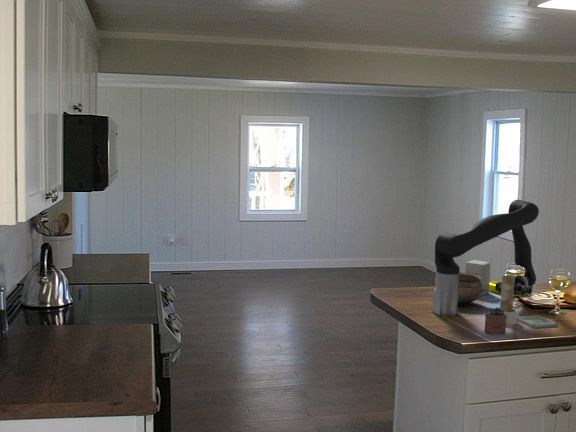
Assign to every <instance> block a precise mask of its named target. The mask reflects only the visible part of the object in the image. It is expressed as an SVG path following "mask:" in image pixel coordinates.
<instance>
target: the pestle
mask: <svg viewBox="0 0 576 432" xmlns="http://www.w3.org/2000/svg"><path fill="white" fill-rule="evenodd" d="M501 281H502V288H501V295H500V305H499V307H500V309H504V312H512V309H514V307H513V306H514V296H513V295H514V281H515V277H512V276H511V275H503V276H501Z"/></svg>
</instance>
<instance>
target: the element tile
mask: <svg viewBox="0 0 576 432" xmlns="http://www.w3.org/2000/svg"><path fill="white" fill-rule="evenodd" d="M498 282H501V283H502V280H492V281H489V293H491V294H495V295H498V296H501V292H499V291H498V290H495V285H496V283H498ZM527 287H528V286H527ZM526 294H528V293H526ZM519 295H521V294H519ZM528 295H529V294H528Z"/></svg>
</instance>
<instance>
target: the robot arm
mask: <svg viewBox="0 0 576 432" xmlns="http://www.w3.org/2000/svg"><path fill="white" fill-rule="evenodd" d="M539 212H540V210H539V207H538V206H537V205H536V204H535V203H533V202H531V201H526V200H522V199H515V200H513V201H511V203H510V204H509V206H508V212H507V213H499V214H498V213H497V214H492V215H488V216H486V217H484V218H482V219H479V220H478V221H477V222H475V223H474V225H473V227H472V228H471V229H470V230H469V231H466V232H463V233H461V234H460V233H459V234H454V233H450V232H442V233H439V235H438V236H437V237H436V239H435V244H434V265H435V267H436V274H435V279H436V282H435V287H434V289H433V291H432V306H431V308H432V309H431V312H432V313H433V314H436V315H438V316H442V315H444V316H455V315H458V306H459V305H458V289H459V273H460V271H461V269H460V268H461V267H460V265H458V263H457V262H455V259H454V258H458V257H461V256H463V255H465V254H466V253H468V252H469V251H470V250H472V249H473V248H476V247H478V246H480V245H482V244H483V243H486V242H488V241H490V240H493V239H495V238H497V237H500V236H501V235H504V234H506V233H507V232H510V231H511V233H512V234H511V235H512V238H513V247H514V248H513V249H514V264H515V266H517V265H520V266H522V267H524V268H523V270H524V271H525V275H524V276H513V277H515V281H514V295H519V294H521V295H522V296H525V295H524V294H526V293H528V295H530V296H531V295H532V293H533V288H534V285H535V284H536V282H537V277H536V276H537V275H536V273H535V270H534V266H533V263H532V262H533V261H532V246H531V244H530V240H529V238H528V236H527V234H526V232H525V229H524V226H526V225H528V224H529V225H530V224H531V223H533V222H534V221H536V220H537V217H538V216H539V214H540V213H539ZM522 267H521V268H522ZM523 277H524V278H523ZM527 286H528V287H527ZM501 288H502V283H501V282H498V283H496V285H495V290H498V291H499V292H501Z"/></svg>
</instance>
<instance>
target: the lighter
mask: <svg viewBox="0 0 576 432" xmlns="http://www.w3.org/2000/svg"><path fill="white" fill-rule="evenodd" d="M498 307H499V306H498ZM498 307H495V308H494V307H488V308H487V312H488V313H485V314H484V317H485V319H484V331H483V333H484V334H487V335H506V334H507V333H506V331H507V330H506V329H507V325H506V318H507V315H506V314H504V309H499V308H498Z"/></svg>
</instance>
